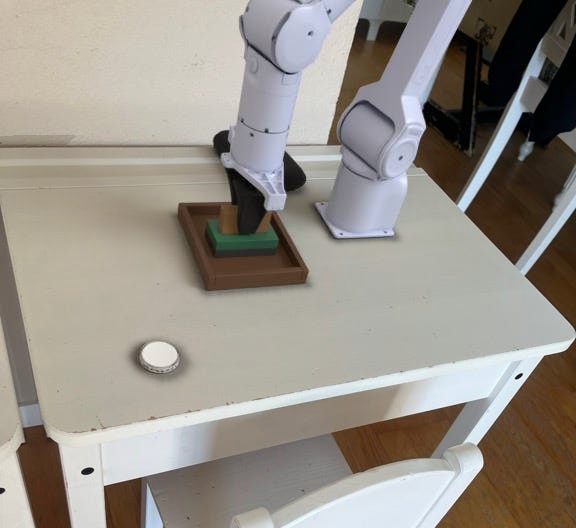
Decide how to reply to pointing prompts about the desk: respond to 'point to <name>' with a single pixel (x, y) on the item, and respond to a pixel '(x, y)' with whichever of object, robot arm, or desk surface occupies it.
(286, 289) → the desk surface
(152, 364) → the white bottle cap
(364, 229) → the robot arm
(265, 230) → the brush
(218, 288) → the tray
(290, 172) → the carrying case
